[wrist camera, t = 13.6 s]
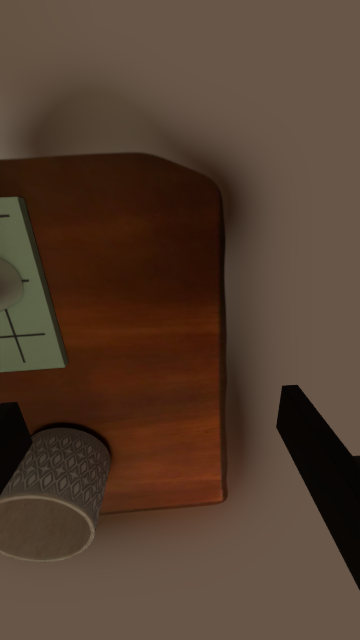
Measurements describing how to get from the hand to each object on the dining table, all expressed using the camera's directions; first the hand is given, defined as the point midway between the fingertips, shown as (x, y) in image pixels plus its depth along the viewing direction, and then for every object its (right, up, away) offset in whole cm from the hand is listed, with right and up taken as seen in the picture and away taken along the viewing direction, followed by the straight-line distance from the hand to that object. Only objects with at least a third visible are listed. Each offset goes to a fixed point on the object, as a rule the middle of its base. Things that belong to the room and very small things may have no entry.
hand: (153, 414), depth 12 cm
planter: (-20, -21, +35) cm, 45 cm away
